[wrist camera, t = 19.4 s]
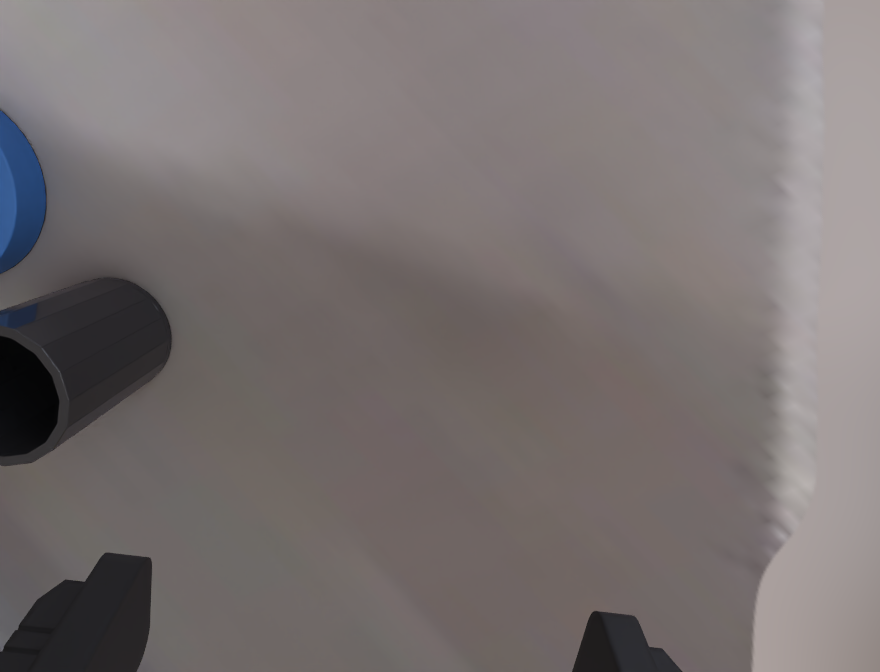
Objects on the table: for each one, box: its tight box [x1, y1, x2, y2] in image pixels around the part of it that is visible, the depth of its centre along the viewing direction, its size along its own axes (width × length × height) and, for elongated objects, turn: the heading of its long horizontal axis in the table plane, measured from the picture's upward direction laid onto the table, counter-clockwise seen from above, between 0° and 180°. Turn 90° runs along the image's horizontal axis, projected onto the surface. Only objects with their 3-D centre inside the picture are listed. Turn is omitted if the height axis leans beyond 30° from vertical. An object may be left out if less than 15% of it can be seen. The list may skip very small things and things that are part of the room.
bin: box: [0, 278, 171, 466], centre depth 34 cm, size 6×6×10 cm
